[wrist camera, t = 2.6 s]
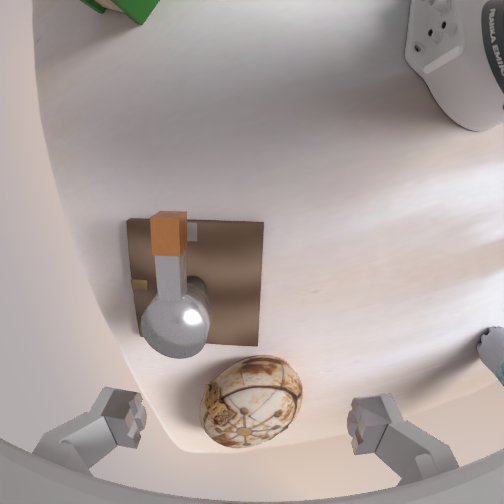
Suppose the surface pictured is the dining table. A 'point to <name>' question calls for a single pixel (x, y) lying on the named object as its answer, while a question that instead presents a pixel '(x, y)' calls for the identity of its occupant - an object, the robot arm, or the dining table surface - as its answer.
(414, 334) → the dining table surface
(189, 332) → the lever handle
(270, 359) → the trinket box
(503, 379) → the bottle
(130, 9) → the hardback book
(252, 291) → the base
